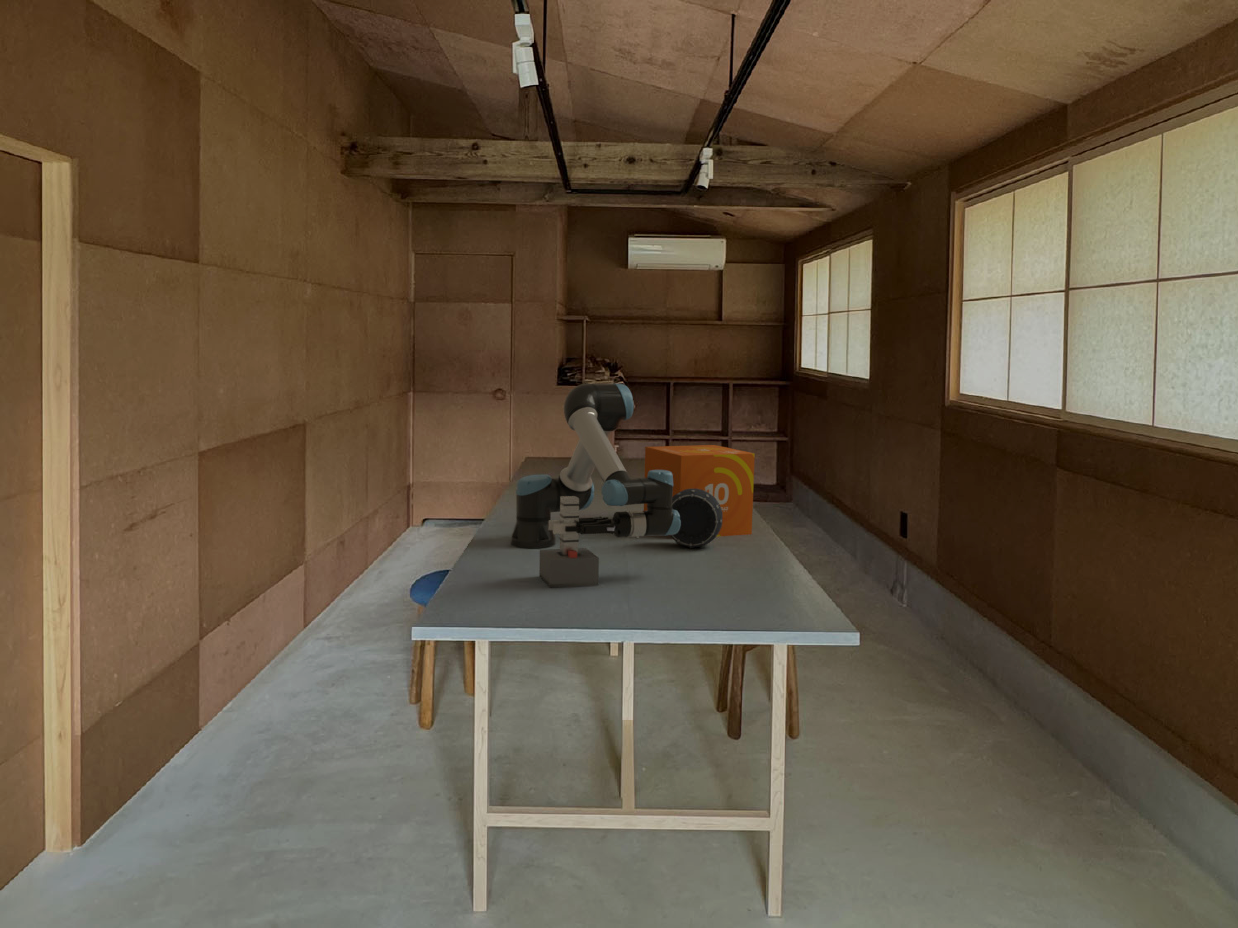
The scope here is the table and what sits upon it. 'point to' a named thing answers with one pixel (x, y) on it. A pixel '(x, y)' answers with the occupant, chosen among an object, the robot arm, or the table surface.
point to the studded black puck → (697, 517)
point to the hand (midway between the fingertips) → (551, 527)
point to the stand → (569, 568)
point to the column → (569, 515)
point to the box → (711, 479)
